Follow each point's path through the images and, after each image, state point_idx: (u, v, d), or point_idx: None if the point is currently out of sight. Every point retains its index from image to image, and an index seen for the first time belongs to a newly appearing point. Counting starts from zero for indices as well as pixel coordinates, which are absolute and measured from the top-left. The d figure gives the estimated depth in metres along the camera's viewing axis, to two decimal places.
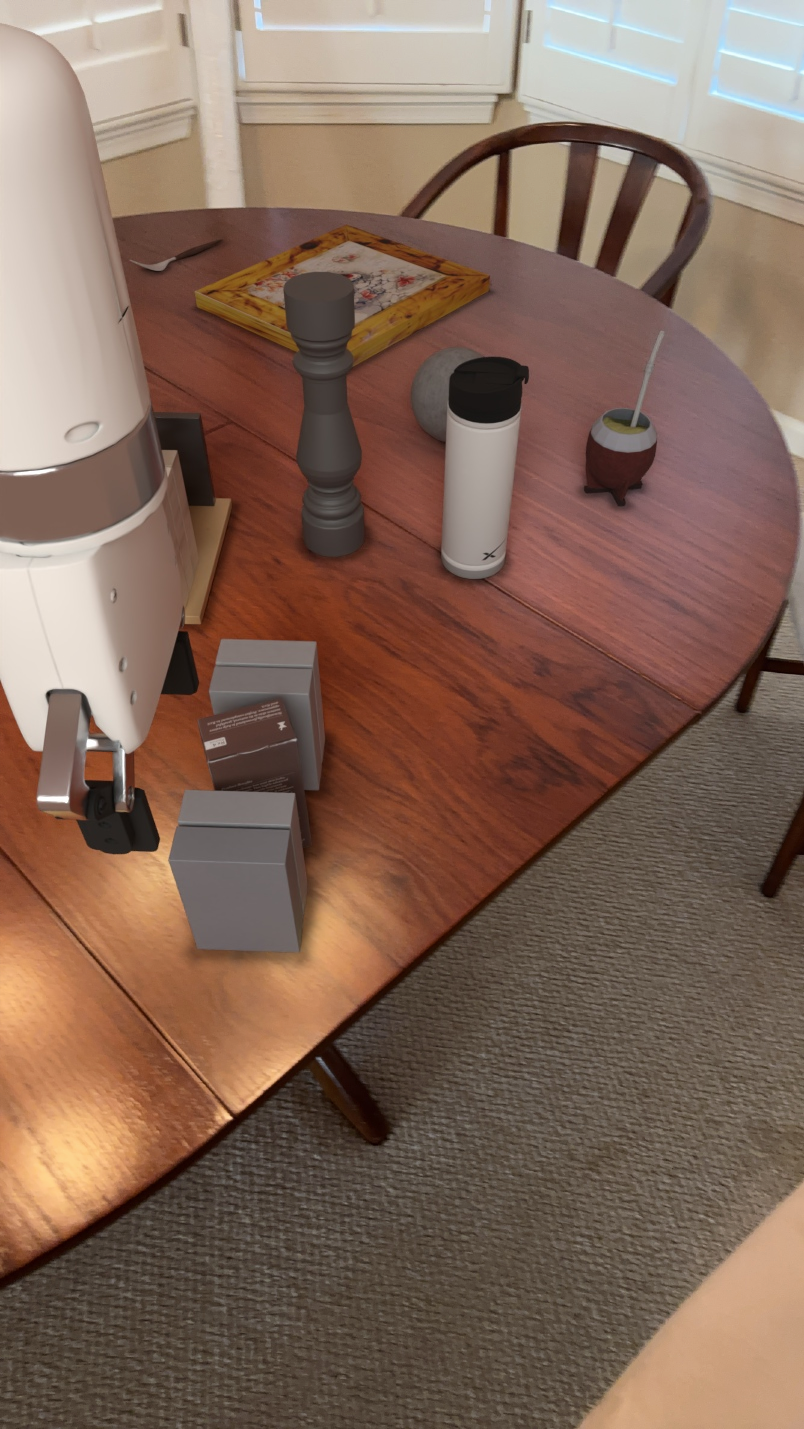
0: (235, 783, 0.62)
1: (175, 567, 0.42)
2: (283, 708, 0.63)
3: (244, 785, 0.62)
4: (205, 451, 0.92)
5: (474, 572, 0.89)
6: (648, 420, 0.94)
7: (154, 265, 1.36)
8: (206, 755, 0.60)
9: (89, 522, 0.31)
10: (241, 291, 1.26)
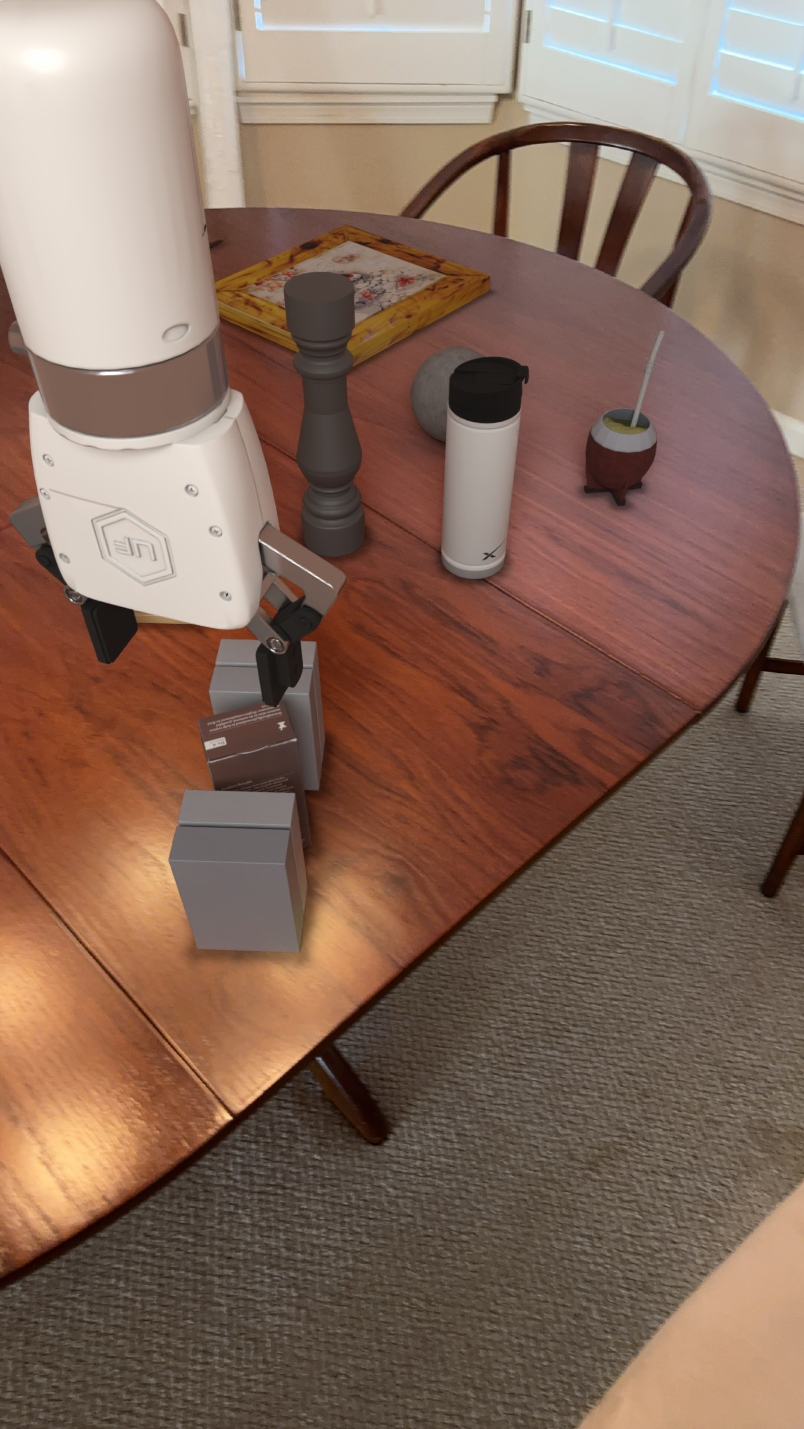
0: (235, 783, 0.62)
1: None
2: (283, 708, 0.63)
3: (244, 785, 0.62)
4: None
5: (474, 572, 0.89)
6: (648, 420, 0.94)
7: None
8: (206, 755, 0.60)
9: None
10: (241, 291, 1.26)
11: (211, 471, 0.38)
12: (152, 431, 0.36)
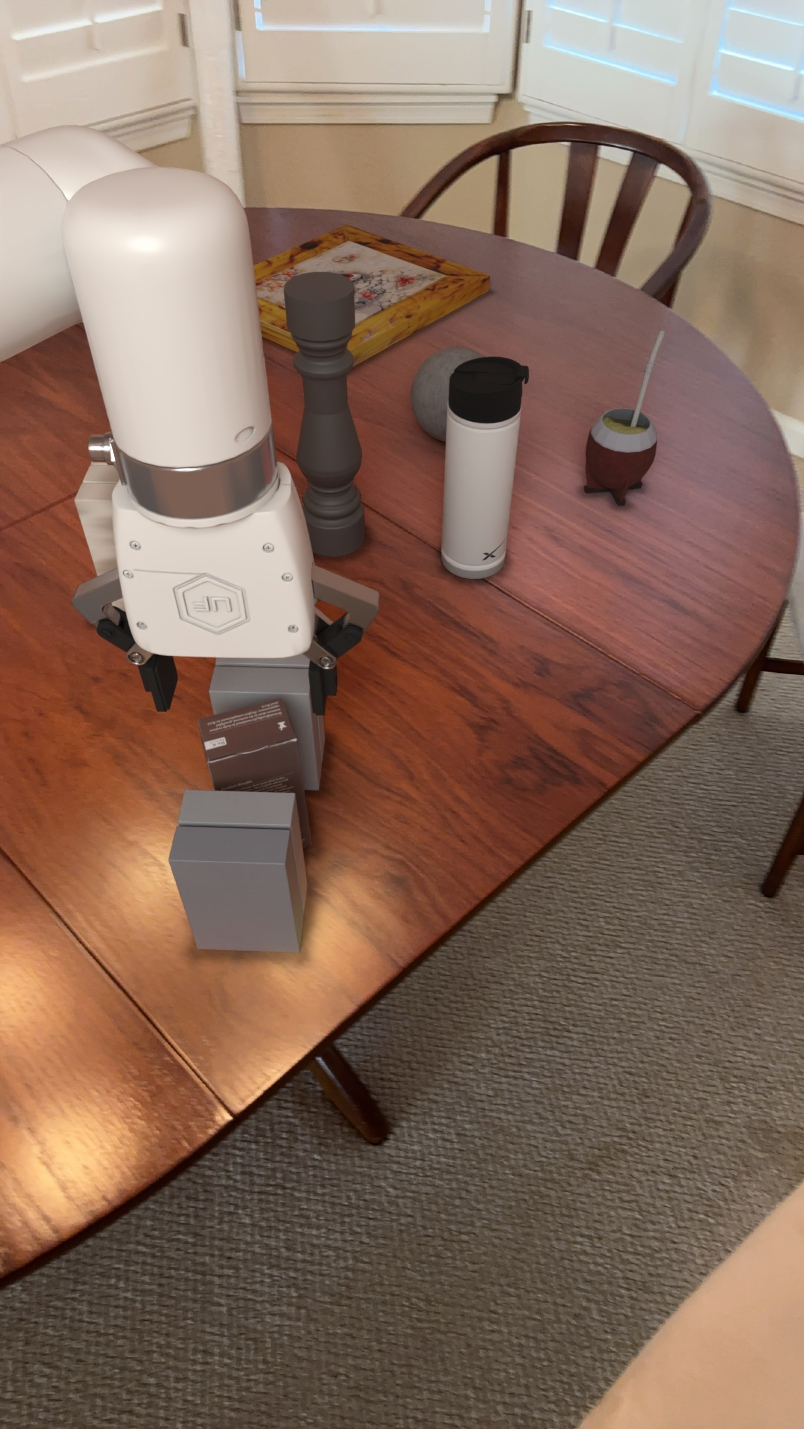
0: (235, 783, 0.62)
1: None
2: (283, 708, 0.63)
3: (245, 785, 0.62)
4: None
5: (474, 572, 0.89)
6: (648, 420, 0.94)
7: None
8: (206, 755, 0.60)
9: None
10: None
11: (284, 530, 0.47)
12: (240, 506, 0.45)
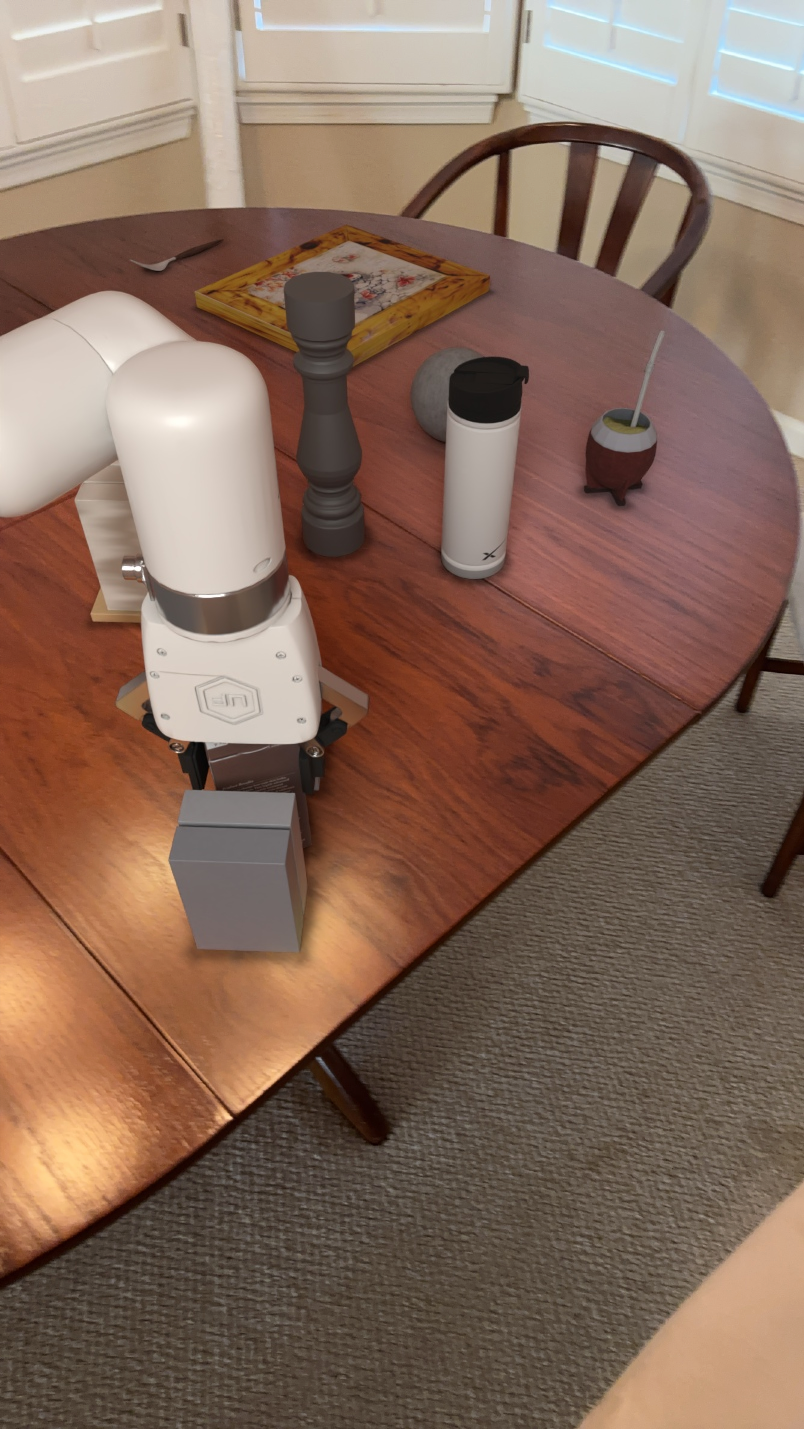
0: (236, 783, 0.62)
1: None
2: None
3: (246, 785, 0.62)
4: None
5: (474, 572, 0.89)
6: (648, 420, 0.94)
7: (154, 265, 1.36)
8: (207, 755, 0.60)
9: None
10: (241, 291, 1.26)
11: (295, 640, 0.52)
12: (256, 623, 0.50)
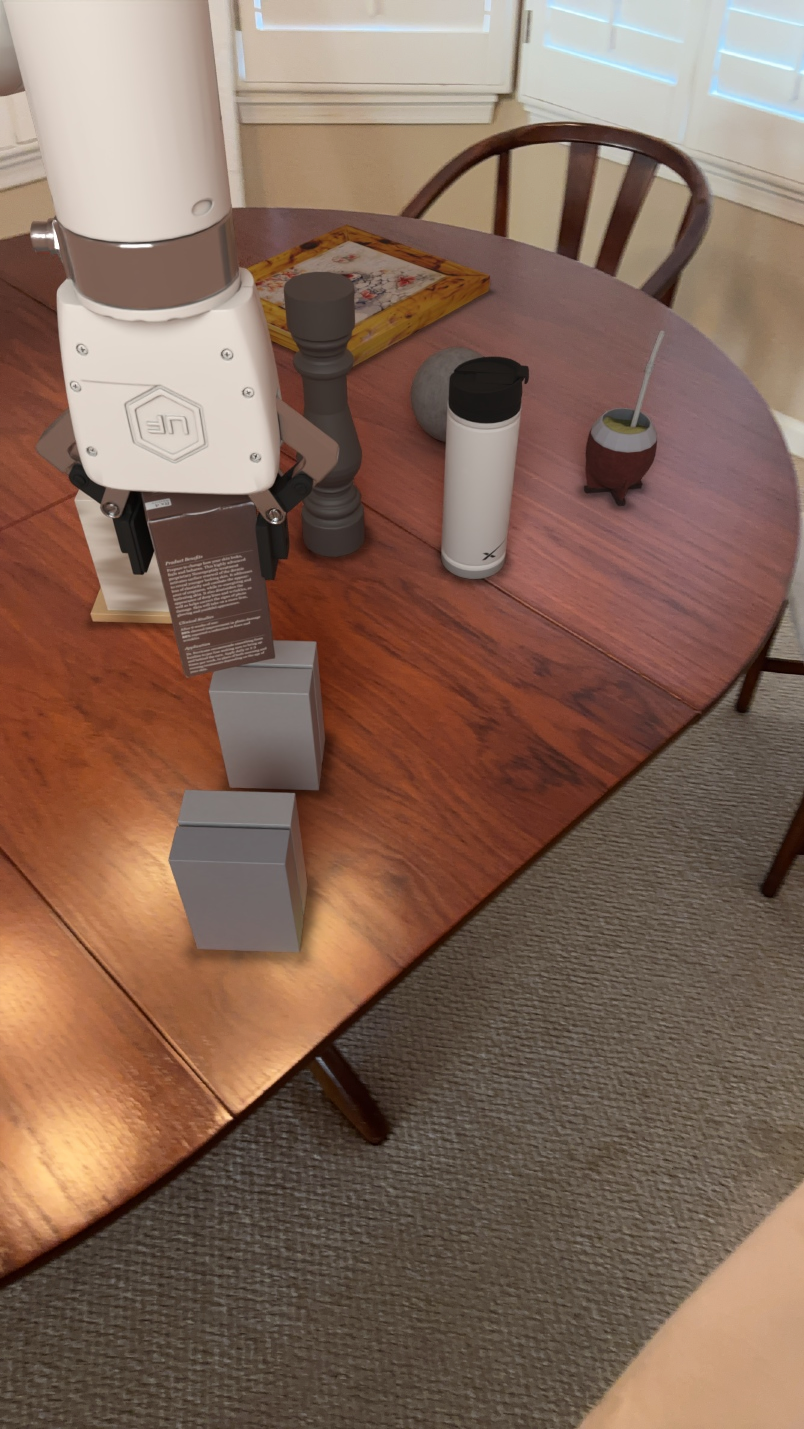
0: (182, 557, 0.52)
1: None
2: None
3: (193, 561, 0.53)
4: None
5: (474, 572, 0.89)
6: (648, 420, 0.94)
7: None
8: (146, 515, 0.51)
9: None
10: None
11: (245, 334, 0.43)
12: (194, 299, 0.41)
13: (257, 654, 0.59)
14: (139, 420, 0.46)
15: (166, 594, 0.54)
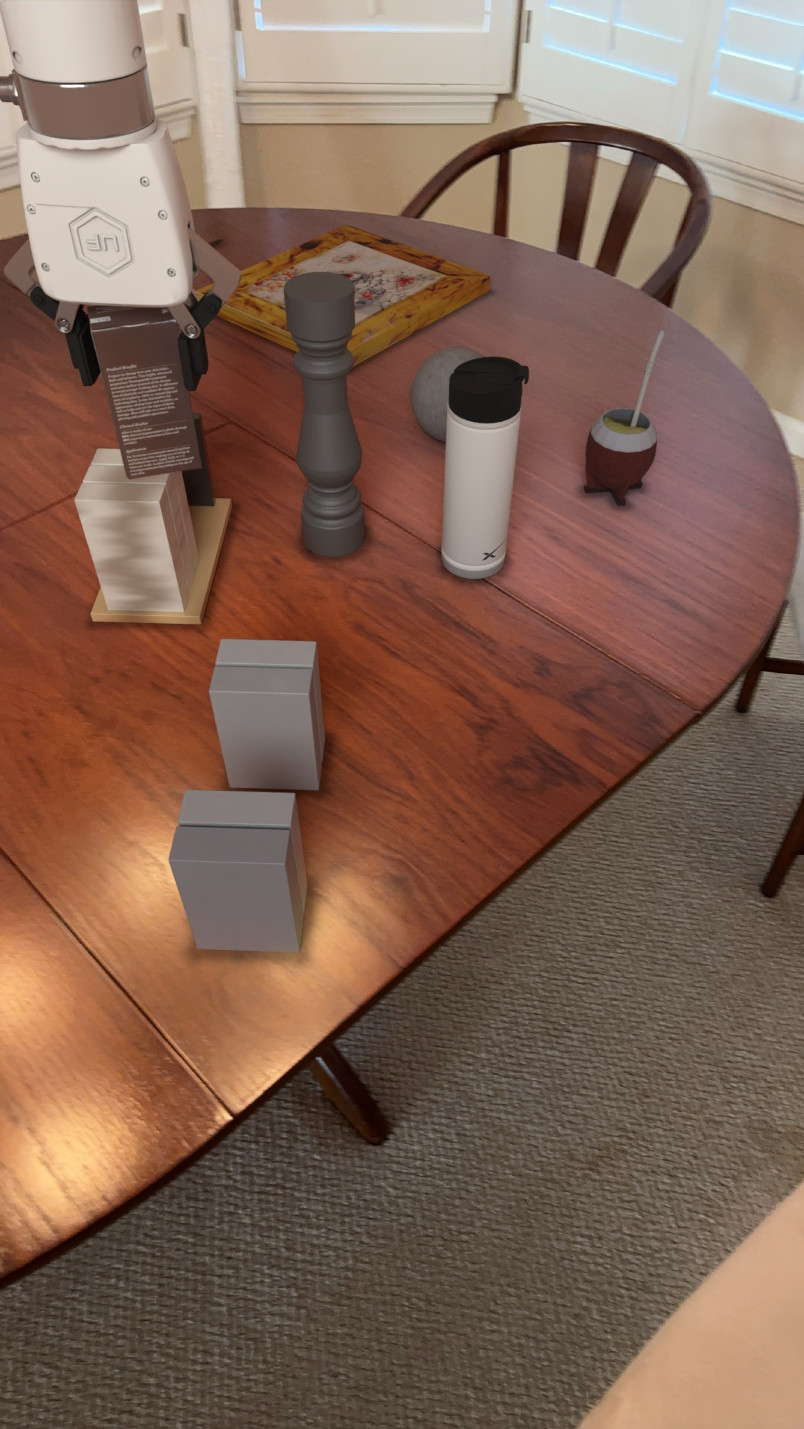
0: (120, 365, 0.66)
1: None
2: None
3: (129, 370, 0.67)
4: (205, 451, 0.92)
5: (474, 572, 0.89)
6: (648, 420, 0.94)
7: None
8: (90, 327, 0.65)
9: None
10: (241, 291, 1.26)
11: (157, 164, 0.57)
12: (117, 132, 0.55)
13: (186, 462, 0.73)
14: (80, 238, 0.60)
15: (108, 399, 0.68)
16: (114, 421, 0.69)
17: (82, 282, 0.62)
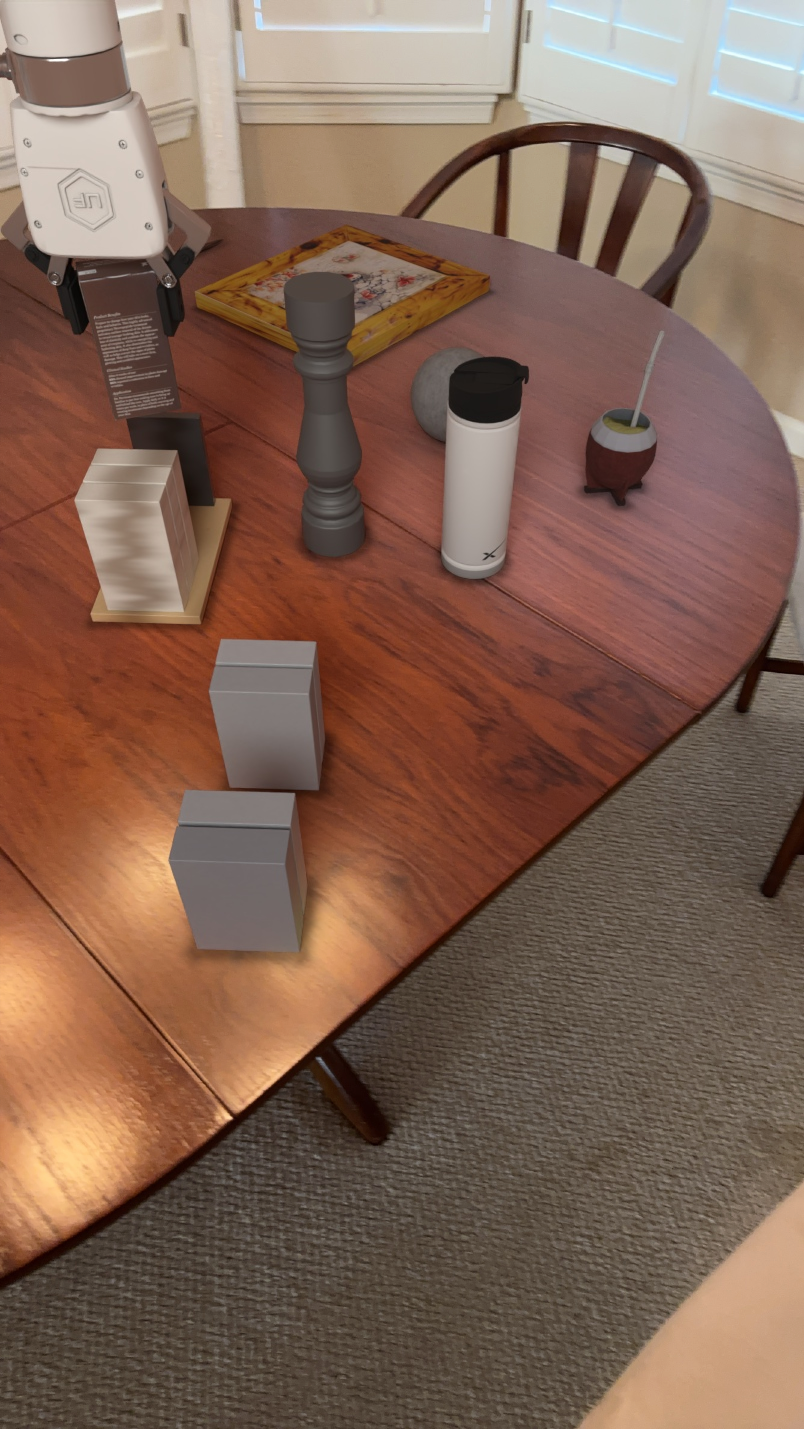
0: (105, 313, 0.75)
1: None
2: None
3: (114, 317, 0.75)
4: (205, 451, 0.92)
5: (474, 572, 0.89)
6: (648, 420, 0.94)
7: None
8: (78, 278, 0.73)
9: None
10: (241, 291, 1.26)
11: (133, 129, 0.65)
12: (98, 101, 0.63)
13: (167, 404, 0.81)
14: (68, 197, 0.68)
15: (96, 344, 0.76)
16: (102, 365, 0.77)
17: (70, 237, 0.70)
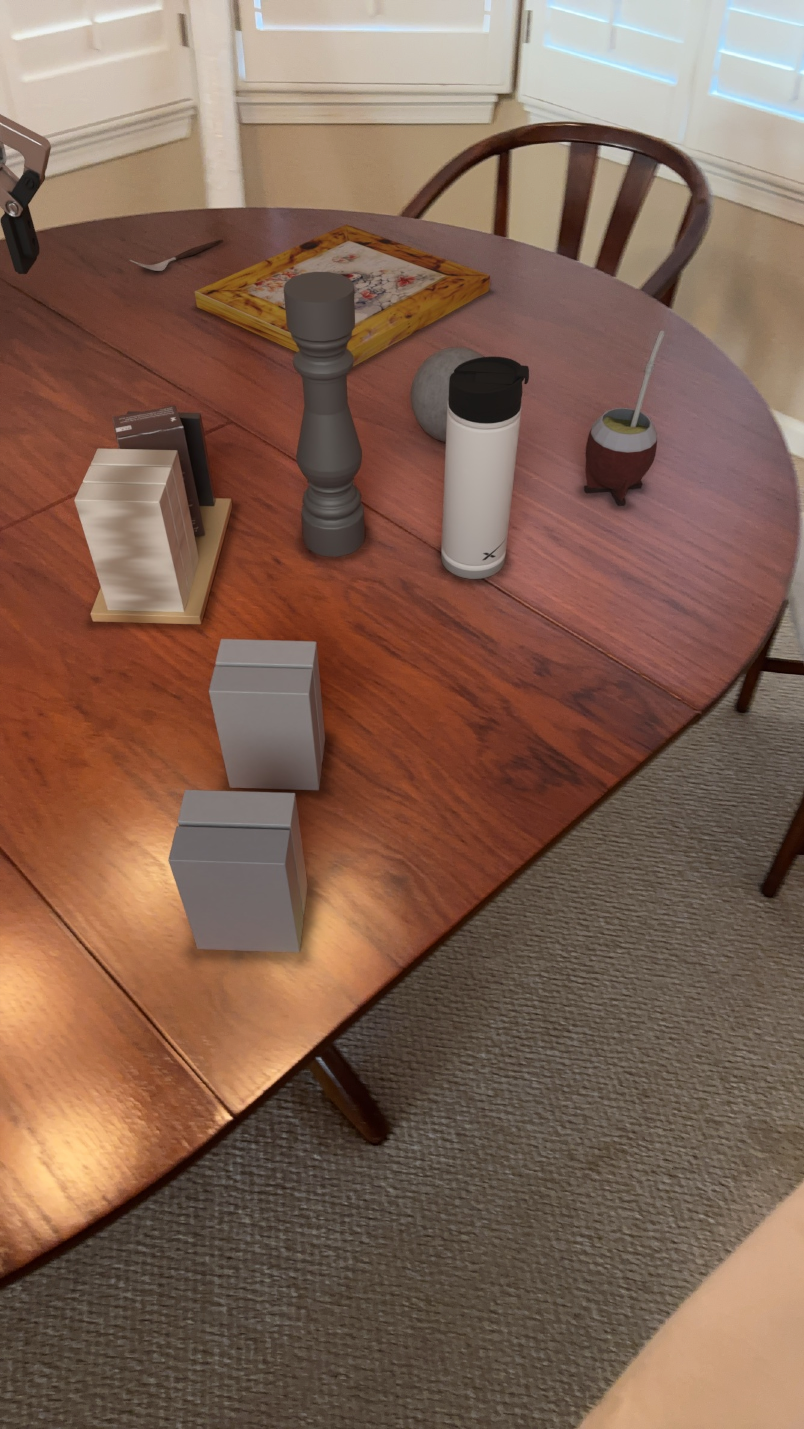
0: None
1: None
2: (175, 410, 0.86)
3: None
4: (205, 451, 0.92)
5: (474, 572, 0.89)
6: (648, 420, 0.94)
7: (154, 265, 1.36)
8: (116, 435, 0.83)
9: None
10: (241, 291, 1.26)
11: None
12: None
13: None
14: None
15: None
16: None
17: None
